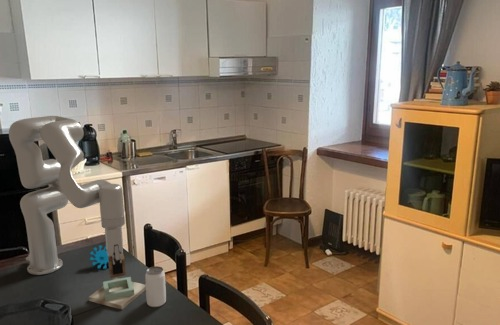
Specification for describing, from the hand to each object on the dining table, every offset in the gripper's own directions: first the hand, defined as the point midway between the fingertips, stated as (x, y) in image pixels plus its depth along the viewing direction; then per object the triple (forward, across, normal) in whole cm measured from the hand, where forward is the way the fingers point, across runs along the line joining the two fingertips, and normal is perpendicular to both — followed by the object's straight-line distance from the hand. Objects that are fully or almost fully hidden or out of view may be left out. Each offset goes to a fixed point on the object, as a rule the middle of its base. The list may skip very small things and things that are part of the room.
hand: (117, 269), depth 143 cm
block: (+2, 0, 0) cm, 2 cm away
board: (+10, 0, 0) cm, 10 cm away
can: (+10, +10, +11) cm, 18 cm away
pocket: (+8, 0, 0) cm, 8 cm away
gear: (+10, -25, -3) cm, 27 cm away
